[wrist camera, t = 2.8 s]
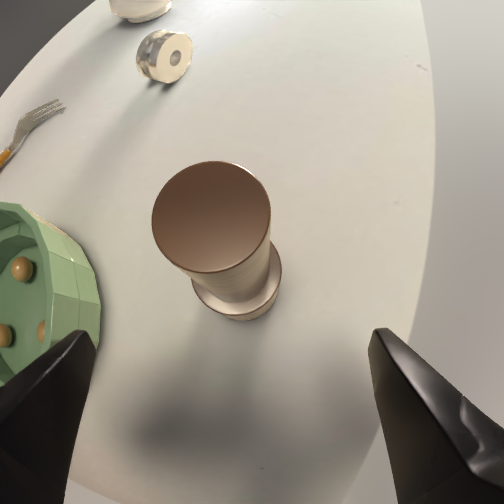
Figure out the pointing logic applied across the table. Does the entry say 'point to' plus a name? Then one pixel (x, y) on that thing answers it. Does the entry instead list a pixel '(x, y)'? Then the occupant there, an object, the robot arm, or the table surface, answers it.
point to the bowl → (42, 288)
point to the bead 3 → (41, 331)
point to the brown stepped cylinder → (220, 237)
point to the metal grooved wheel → (164, 55)
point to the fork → (28, 127)
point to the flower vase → (139, 9)
